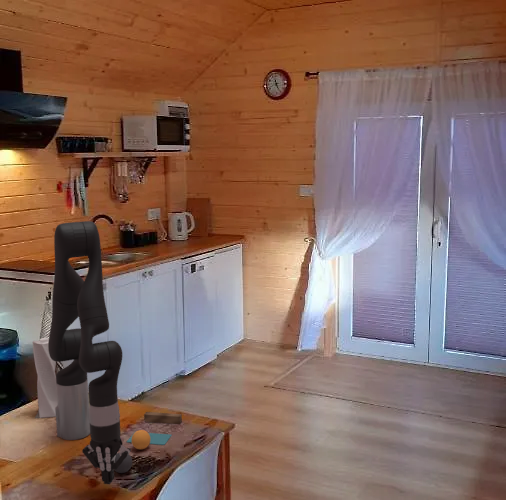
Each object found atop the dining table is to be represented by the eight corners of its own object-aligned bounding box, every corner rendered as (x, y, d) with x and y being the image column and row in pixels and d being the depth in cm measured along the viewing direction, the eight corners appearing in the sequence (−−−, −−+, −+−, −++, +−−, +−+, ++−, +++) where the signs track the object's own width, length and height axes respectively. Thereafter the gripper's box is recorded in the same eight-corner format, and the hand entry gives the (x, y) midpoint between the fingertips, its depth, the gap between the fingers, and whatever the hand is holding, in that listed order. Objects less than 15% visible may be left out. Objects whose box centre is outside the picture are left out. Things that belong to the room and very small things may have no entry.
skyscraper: (64, 409, 218) (58, 329, 214) (60, 418, 210) (54, 336, 206) (38, 411, 217) (32, 331, 213) (34, 420, 209) (27, 338, 205)
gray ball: (108, 476, 171) (107, 456, 171) (117, 466, 177) (116, 447, 176) (128, 477, 170) (127, 458, 169) (135, 467, 176) (134, 449, 175)
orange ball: (129, 452, 185) (128, 434, 184) (136, 443, 190) (135, 426, 189) (146, 453, 184) (146, 435, 183) (153, 444, 189) (152, 427, 188)
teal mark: (126, 442, 191) (126, 441, 191) (134, 432, 198) (134, 431, 198) (164, 445, 189) (164, 444, 189) (171, 435, 195) (171, 434, 195)
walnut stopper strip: (144, 421, 206) (144, 414, 205) (146, 419, 208) (146, 411, 207) (179, 424, 203) (179, 416, 203) (181, 421, 205) (181, 414, 205)
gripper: (73, 423, 159) (77, 488, 162) (123, 426, 157) (126, 492, 159) (87, 411, 167) (91, 473, 169) (134, 414, 164) (138, 477, 167)
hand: (108, 482), depth 164 cm, fingers closed
